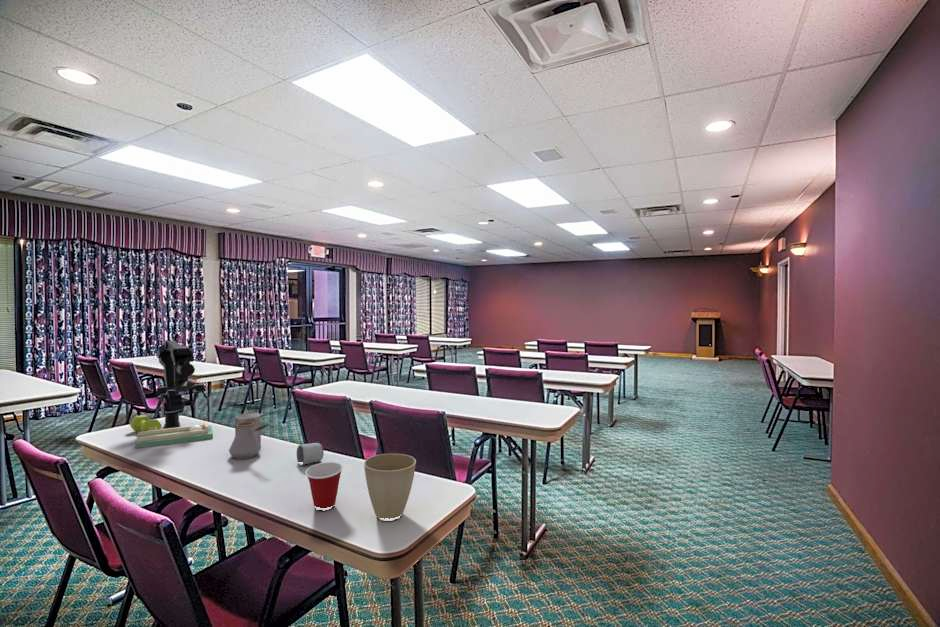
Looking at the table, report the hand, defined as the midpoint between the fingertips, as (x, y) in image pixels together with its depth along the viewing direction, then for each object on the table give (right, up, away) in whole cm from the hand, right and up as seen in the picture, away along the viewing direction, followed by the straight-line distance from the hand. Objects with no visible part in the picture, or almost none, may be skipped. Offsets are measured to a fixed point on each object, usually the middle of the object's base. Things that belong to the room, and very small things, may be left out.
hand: (181, 407), depth 211 cm
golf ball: (+10, -10, -5) cm, 15 cm away
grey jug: (+41, -13, -20) cm, 47 cm away
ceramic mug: (+72, -14, -36) cm, 82 cm away
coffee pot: (+49, -14, -33) cm, 60 cm away
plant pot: (+112, -15, -79) cm, 138 cm away
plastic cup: (+91, -15, -75) cm, 119 cm away
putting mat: (+3, -12, -8) cm, 15 cm away
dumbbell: (-16, -12, -1) cm, 20 cm away
